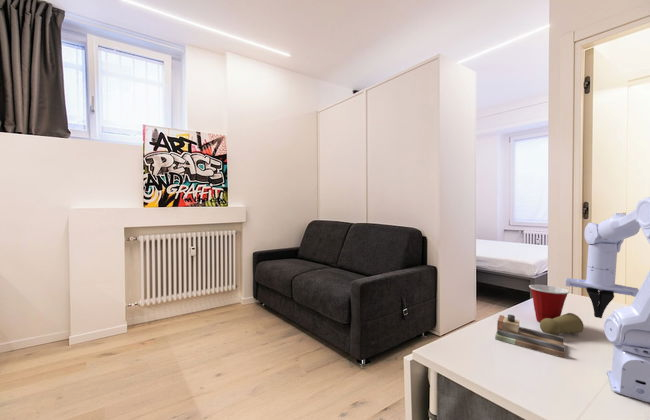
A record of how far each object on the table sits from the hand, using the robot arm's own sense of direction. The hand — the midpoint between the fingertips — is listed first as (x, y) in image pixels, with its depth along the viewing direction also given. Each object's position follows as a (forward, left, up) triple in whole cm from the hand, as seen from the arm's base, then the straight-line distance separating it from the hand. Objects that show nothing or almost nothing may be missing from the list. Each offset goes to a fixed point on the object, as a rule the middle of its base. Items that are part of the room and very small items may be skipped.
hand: (597, 316), depth 81 cm
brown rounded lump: (+11, +4, -7) cm, 14 cm away
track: (-5, +15, -10) cm, 19 cm away
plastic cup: (+15, +11, -10) cm, 21 cm away
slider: (-5, +20, -9) cm, 22 cm away
